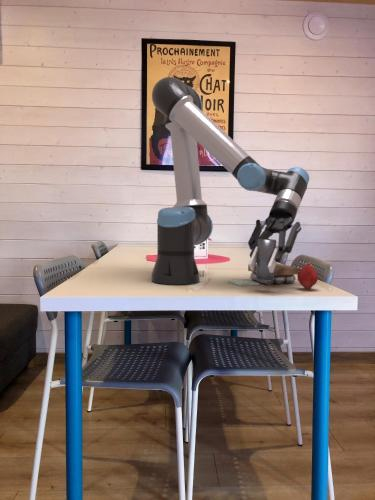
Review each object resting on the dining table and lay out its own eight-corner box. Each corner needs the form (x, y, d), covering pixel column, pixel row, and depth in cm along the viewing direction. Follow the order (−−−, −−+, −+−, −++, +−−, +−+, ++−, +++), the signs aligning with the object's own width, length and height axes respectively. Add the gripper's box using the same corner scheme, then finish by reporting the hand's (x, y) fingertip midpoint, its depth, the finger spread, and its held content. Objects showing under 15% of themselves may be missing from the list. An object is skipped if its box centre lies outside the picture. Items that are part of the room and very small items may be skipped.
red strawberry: (292, 288, 134) (293, 261, 133) (307, 287, 137) (308, 260, 136) (307, 292, 129) (308, 264, 128) (321, 290, 132) (322, 263, 131)
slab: (268, 275, 138) (268, 269, 138) (248, 270, 149) (248, 264, 149) (298, 274, 142) (298, 267, 142) (276, 269, 153) (276, 263, 153)
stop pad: (239, 286, 137) (239, 284, 137) (228, 282, 144) (228, 280, 144) (259, 284, 140) (259, 283, 140) (247, 281, 147) (247, 279, 146)
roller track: (265, 285, 140) (265, 275, 140) (250, 280, 148) (250, 271, 148) (295, 283, 144) (295, 273, 144) (278, 279, 152) (279, 270, 152)
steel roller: (262, 280, 125) (264, 240, 124) (252, 277, 129) (254, 238, 128) (277, 279, 127) (279, 240, 126) (267, 276, 131) (269, 238, 130)
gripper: (316, 218, 135) (295, 280, 122) (260, 216, 144) (234, 273, 132) (312, 200, 130) (289, 262, 117) (254, 198, 139) (226, 256, 127)
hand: (260, 268), depth 125 cm, fingers closed on steel roller, 5 cm apart
